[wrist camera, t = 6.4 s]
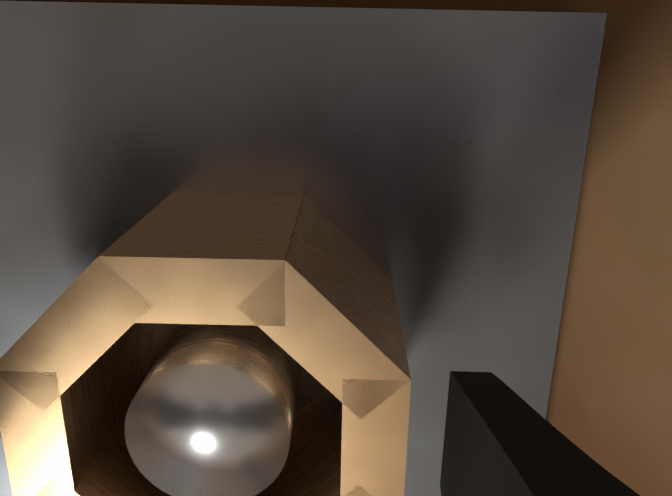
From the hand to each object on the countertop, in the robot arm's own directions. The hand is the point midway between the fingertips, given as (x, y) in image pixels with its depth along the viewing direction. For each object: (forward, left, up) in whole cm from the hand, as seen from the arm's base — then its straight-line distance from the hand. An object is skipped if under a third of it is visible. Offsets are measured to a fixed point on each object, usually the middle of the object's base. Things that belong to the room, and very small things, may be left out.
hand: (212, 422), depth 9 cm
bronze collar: (0, 0, -3) cm, 3 cm away
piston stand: (0, 0, -4) cm, 4 cm away
